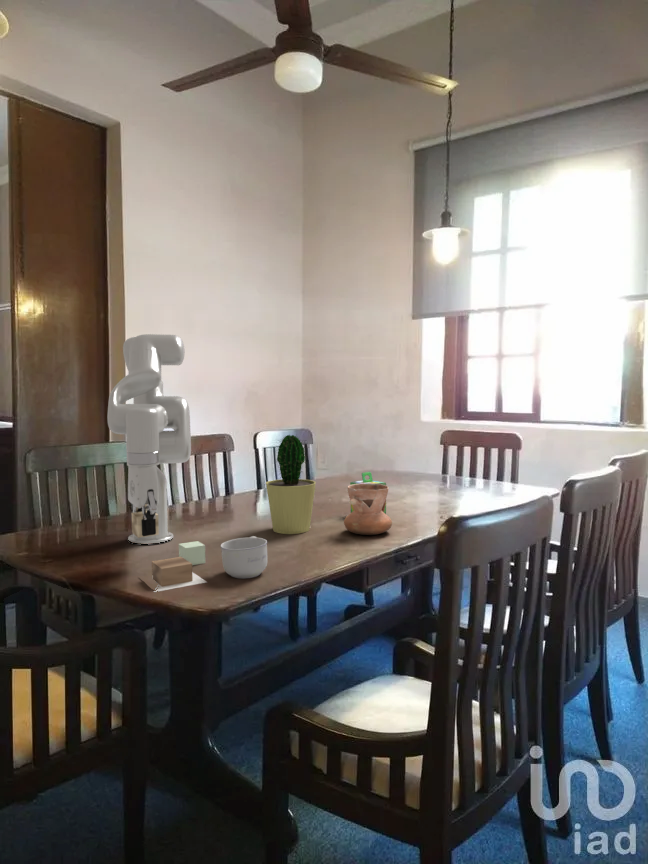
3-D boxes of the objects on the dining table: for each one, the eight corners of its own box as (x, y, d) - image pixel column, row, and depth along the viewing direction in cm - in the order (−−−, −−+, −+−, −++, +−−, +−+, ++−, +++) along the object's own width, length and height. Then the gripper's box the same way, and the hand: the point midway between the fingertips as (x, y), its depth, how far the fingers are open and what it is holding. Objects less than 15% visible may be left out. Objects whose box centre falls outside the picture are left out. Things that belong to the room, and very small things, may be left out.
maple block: (132, 532, 150) (131, 512, 150) (152, 529, 153) (151, 510, 152) (138, 537, 146) (137, 517, 146) (158, 534, 149) (158, 514, 148)
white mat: (137, 579, 141) (137, 577, 141) (187, 570, 148) (187, 569, 147) (154, 593, 131) (154, 591, 131) (207, 583, 137) (207, 582, 137)
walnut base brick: (152, 578, 140) (151, 561, 140) (181, 573, 144) (181, 556, 144) (162, 586, 134) (161, 568, 134) (192, 581, 138) (192, 563, 138)
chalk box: (368, 519, 204) (368, 475, 203) (349, 515, 211) (349, 472, 210) (387, 515, 210) (387, 472, 209) (368, 511, 217) (368, 469, 216)
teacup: (254, 584, 137) (253, 549, 136) (212, 579, 141) (211, 545, 140) (281, 567, 150) (280, 535, 149) (242, 563, 154) (241, 531, 153)
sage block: (179, 563, 154) (178, 543, 154) (198, 560, 157) (197, 541, 156) (186, 568, 150) (185, 548, 150) (205, 565, 153) (205, 545, 152)
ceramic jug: (372, 541, 175) (372, 492, 174) (331, 534, 184) (331, 487, 183) (405, 530, 189) (405, 484, 188) (366, 523, 198) (366, 480, 197)
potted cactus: (255, 530, 189) (254, 433, 187) (290, 522, 200) (289, 430, 198) (291, 538, 179) (291, 435, 177) (326, 529, 190) (325, 432, 188)
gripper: (117, 454, 152) (120, 526, 155) (138, 465, 138) (140, 543, 140) (147, 452, 156) (149, 522, 159) (170, 462, 142) (172, 538, 145)
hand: (145, 531), depth 150 cm, fingers closed on maple block, 5 cm apart
